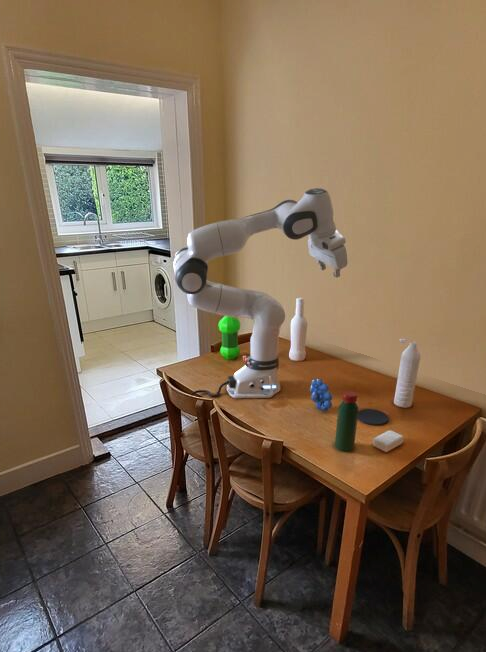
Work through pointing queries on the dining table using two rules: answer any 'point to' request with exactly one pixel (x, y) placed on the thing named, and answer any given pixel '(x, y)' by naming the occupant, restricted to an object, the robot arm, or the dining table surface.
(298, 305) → the bottle
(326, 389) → the grapes
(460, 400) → the dining table surface
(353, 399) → the cap
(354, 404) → the green bottle
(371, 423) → the coaster
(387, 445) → the soap
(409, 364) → the water bottle
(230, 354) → the plastic bottle
